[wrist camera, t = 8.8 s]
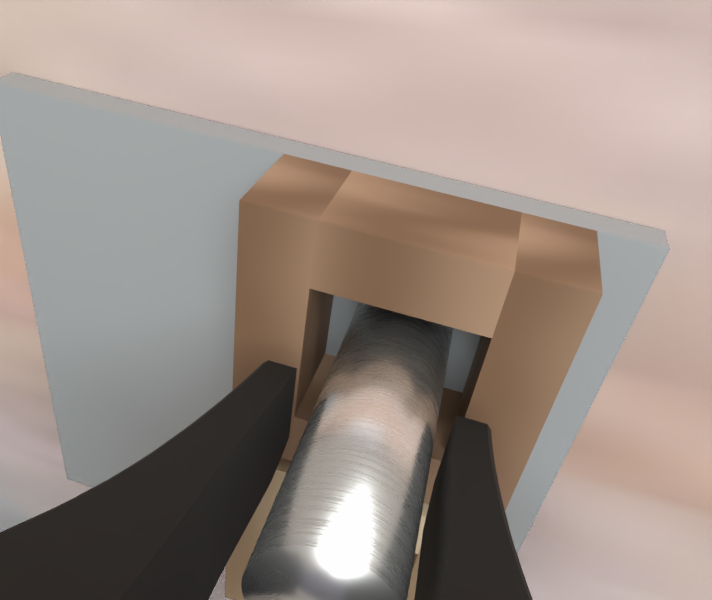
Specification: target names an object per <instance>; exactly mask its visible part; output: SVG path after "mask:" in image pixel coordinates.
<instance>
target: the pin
mask: <svg viewBox="0 0 712 600" xmlns="http://www.w3.org/2000/svg"><path fill="white" fill-rule="evenodd" d="M453 329H454V328H452V327H448V326H445V325H441V324H437V323H434V322H430V321H426V320H423V319H419V318H415V317H412V316H408V315H405V314H401V313H397V312H394V311H390V310H386V309H383V308H379V307H375V306H372V305H368V304H364V303H361V302H359V304H358V306H357V309H356V311H355V313H354V316H353V318H352V320H351V323H350V325H349V327H348V330H347V332H346V334H345V337H344V339H343V341H342V344H341V346H340V349H339V351H338V353H337V356H336V358H335V360H334V363H333V365H332V367H331V370H330V372H329V374H328V377H327V379H326V381H325V384H324V386H323V388H322V391H321V393H320V395H319V398H318V400H317V402H316V405H315V407H314V409H313V412H312V414H311V416H310V419H309V421H308V423H307V426H306V428H305V430H304V433H303V435H302V437H301V440H300V442H299V444H298V447H297V449H296V451H295V454H294V456H293V458H292V461H291V463H290V465H289V468H288V470H287V472H286V475H285V477H284V479H283V482H282V484H281V486H280V489H279V491H278V493H277V496H276V498H275V500H274V503H273V505H272V508H271V510H270V512H269V515H268V517H267V519H266V522H265V524H264V526H263V529H262V531H261V533H260V536H259V538H258V540H257V543H256V545H255V547H254V550H253V552H252V554H251V557H250V559H249V561H248V564H247V566H246V568H245V571H244V573H243V576H242V581H241V589H242V594H243V597H244V600H407V597H408V591H409V585H410V579H411V573H412V568H413V562H414V556H415V550H416V544H417V538H418V533H419V527H420V521H421V515H422V509H423V503H424V498H425V492H426V486H427V480H428V474H429V468H430V463H431V457H432V451H433V445H434V439H435V433H436V428H437V422H438V416H439V410H440V404H441V398H442V393H443V387H444V381H445V375H446V369H447V364H448V358H449V352H450V346H451V340H452V334H453Z"/></svg>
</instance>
